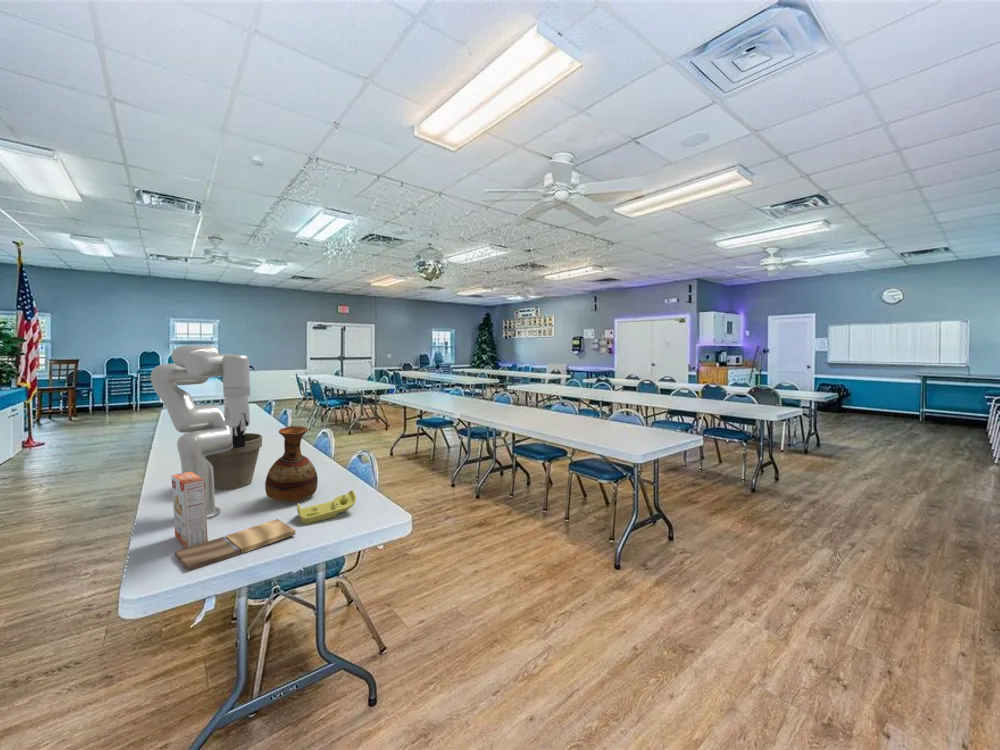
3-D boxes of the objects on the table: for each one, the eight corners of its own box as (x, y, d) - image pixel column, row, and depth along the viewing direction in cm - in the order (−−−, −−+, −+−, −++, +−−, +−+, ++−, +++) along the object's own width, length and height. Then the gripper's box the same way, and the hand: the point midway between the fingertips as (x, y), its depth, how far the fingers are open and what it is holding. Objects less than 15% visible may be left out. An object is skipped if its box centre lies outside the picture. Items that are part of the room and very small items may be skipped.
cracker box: (173, 537, 140) (170, 474, 139) (195, 531, 144) (192, 470, 143) (185, 550, 131) (182, 483, 130) (208, 543, 135) (205, 478, 134)
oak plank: (241, 553, 128) (241, 548, 128) (226, 540, 137) (225, 535, 137) (295, 534, 140) (295, 529, 140) (277, 523, 149) (277, 519, 149)
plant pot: (228, 496, 179) (226, 445, 178) (185, 491, 186) (183, 442, 185) (276, 479, 202) (274, 434, 201) (236, 475, 210) (234, 431, 209)
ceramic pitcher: (269, 510, 164) (267, 433, 162) (262, 496, 180) (259, 425, 178) (323, 499, 175) (321, 427, 173) (311, 487, 191) (310, 421, 190)
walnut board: (175, 555, 127) (174, 550, 127) (224, 541, 137) (224, 536, 137) (187, 571, 118) (187, 565, 118) (240, 554, 128) (240, 549, 128)
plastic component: (301, 519, 148) (296, 500, 156) (302, 534, 152) (297, 514, 159) (359, 504, 159) (352, 486, 166) (358, 518, 162) (351, 500, 169)
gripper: (216, 391, 143) (218, 445, 144) (231, 394, 133) (234, 452, 134) (241, 390, 148) (243, 442, 150) (257, 392, 139) (259, 448, 140)
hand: (238, 447), depth 142 cm, fingers closed
